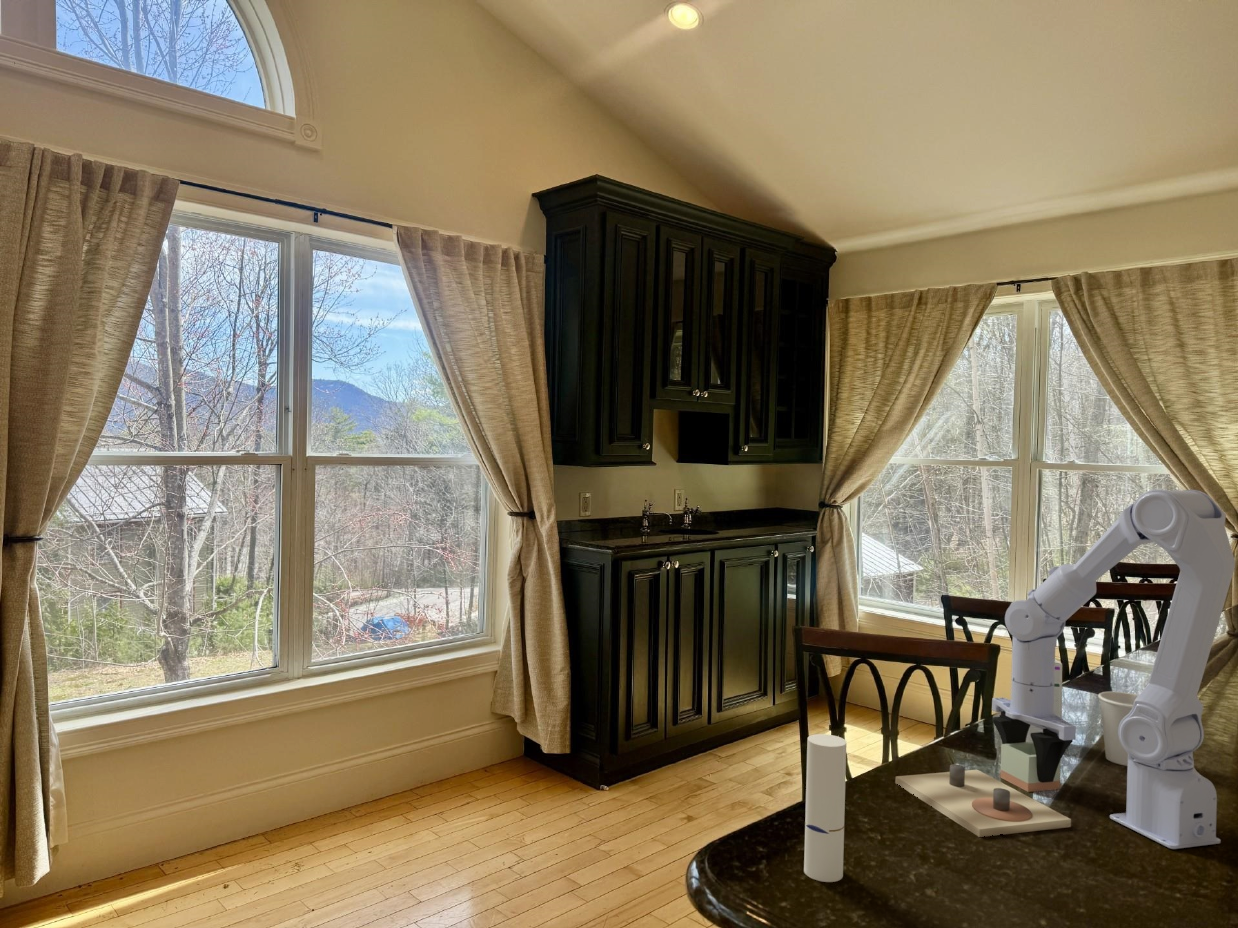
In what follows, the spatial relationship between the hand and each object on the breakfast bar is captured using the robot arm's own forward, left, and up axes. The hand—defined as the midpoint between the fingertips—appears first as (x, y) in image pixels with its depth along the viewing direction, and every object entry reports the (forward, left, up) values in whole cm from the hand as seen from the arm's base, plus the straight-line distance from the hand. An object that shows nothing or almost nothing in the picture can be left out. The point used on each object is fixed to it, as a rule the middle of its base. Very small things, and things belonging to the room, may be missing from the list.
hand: (1030, 773), depth 125 cm
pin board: (-5, +13, -1) cm, 14 cm away
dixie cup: (+5, -23, -2) cm, 24 cm away
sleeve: (0, 0, -1) cm, 1 cm away
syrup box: (+15, -15, -2) cm, 21 cm away
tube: (-18, +44, -2) cm, 48 cm away
